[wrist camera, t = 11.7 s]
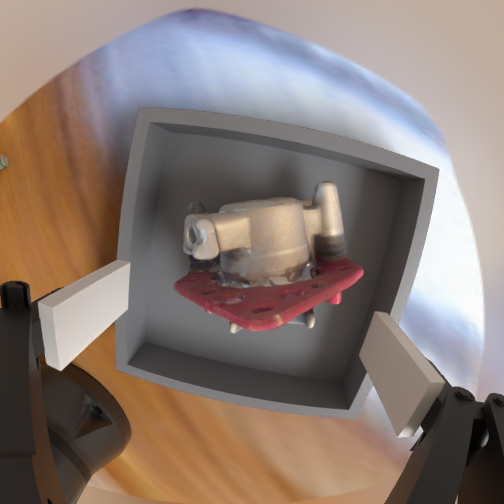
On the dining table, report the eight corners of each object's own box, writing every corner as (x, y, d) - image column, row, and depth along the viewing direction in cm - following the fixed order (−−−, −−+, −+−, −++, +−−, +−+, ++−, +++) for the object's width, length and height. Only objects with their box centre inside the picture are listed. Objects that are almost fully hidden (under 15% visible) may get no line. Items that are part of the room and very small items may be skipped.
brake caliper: (203, 358, 22) (120, 328, 11) (204, 232, 26) (152, 135, 16) (352, 346, 20) (411, 305, 10) (331, 220, 25) (349, 110, 14)
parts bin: (139, 342, 26) (116, 370, 21) (165, 121, 21) (139, 106, 16) (345, 384, 25) (355, 419, 20) (409, 171, 21) (439, 169, 16)
